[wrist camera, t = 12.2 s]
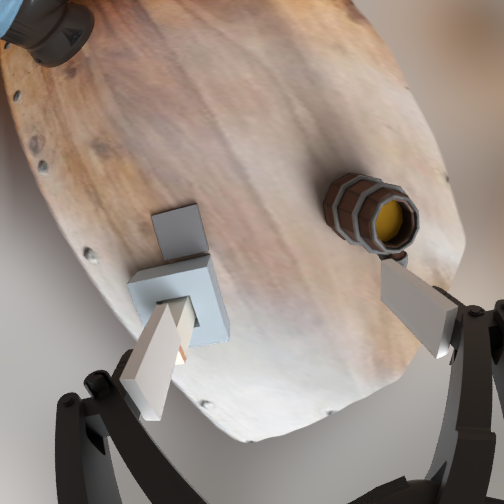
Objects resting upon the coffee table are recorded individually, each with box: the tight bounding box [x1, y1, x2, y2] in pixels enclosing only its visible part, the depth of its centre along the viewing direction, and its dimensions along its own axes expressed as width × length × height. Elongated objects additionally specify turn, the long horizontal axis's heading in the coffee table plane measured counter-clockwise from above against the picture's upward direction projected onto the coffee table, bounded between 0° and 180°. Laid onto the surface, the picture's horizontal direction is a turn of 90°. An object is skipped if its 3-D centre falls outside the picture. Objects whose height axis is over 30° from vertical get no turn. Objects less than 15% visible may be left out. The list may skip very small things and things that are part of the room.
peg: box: [162, 295, 196, 365], centre depth 40 cm, size 4×4×14 cm
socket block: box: [127, 255, 230, 348], centre depth 46 cm, size 14×14×6 cm
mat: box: [151, 204, 209, 261], centre depth 45 cm, size 8×8×1 cm
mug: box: [323, 173, 419, 268], centre depth 39 cm, size 16×12×15 cm
